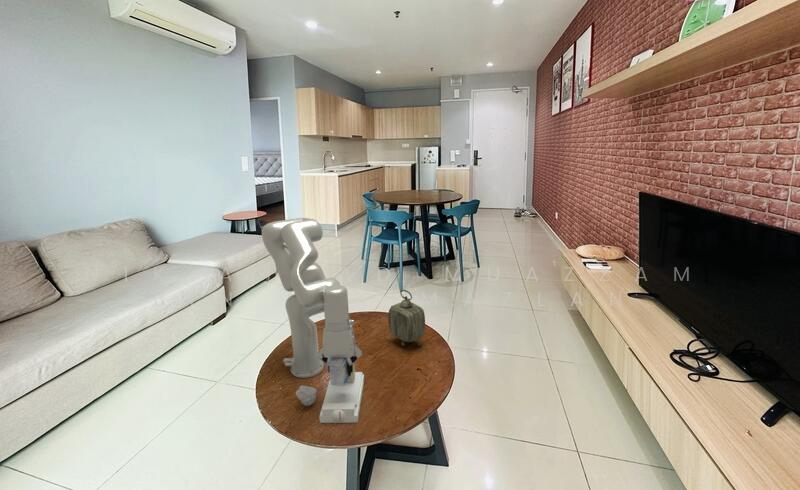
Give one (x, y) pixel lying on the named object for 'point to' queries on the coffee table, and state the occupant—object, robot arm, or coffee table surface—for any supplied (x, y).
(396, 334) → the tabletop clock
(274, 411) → the coffee table surface
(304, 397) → the grey lumpy chunk
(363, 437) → the coffee table surface
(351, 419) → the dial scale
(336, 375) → the medicine box
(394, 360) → the coffee table surface
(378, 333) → the coffee table surface
